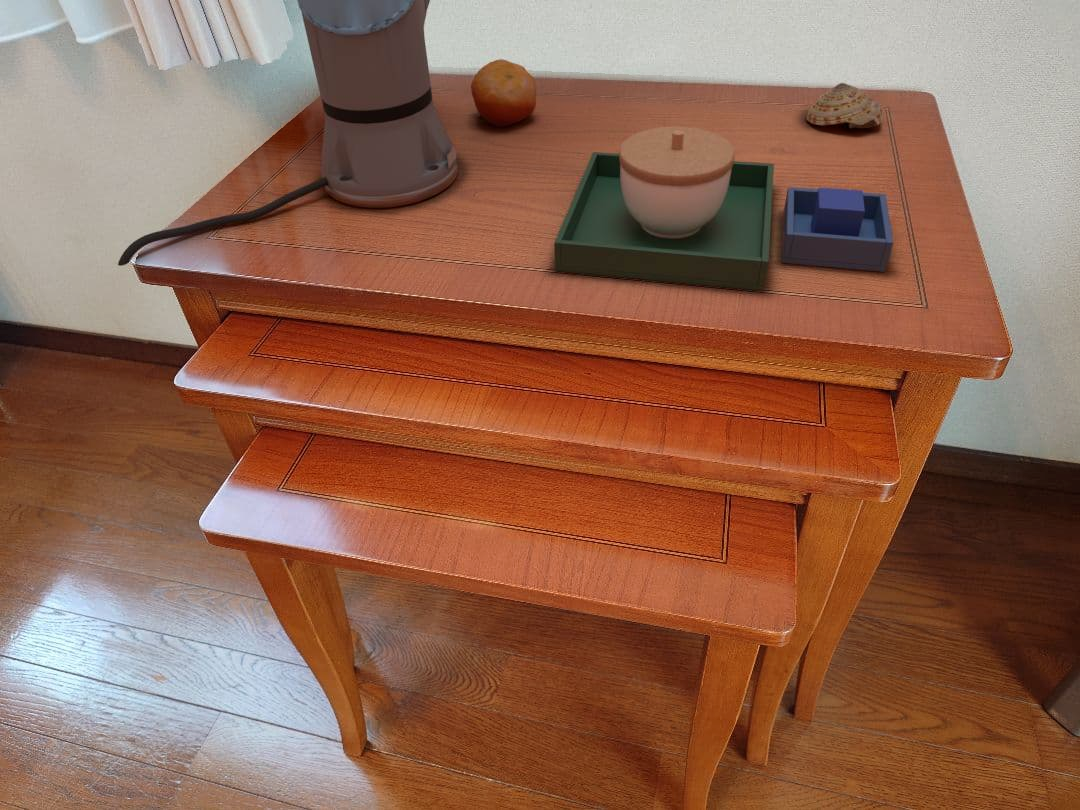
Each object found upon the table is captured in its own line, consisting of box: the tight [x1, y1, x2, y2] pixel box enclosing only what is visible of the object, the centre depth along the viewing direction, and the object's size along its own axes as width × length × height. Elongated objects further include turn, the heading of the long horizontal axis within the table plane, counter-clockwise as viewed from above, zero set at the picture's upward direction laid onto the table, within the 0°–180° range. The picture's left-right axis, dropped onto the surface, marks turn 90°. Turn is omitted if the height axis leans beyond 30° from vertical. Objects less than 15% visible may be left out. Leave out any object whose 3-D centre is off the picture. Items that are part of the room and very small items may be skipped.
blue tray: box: [781, 186, 894, 273], centre depth 76 cm, size 9×9×3 cm
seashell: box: [805, 82, 884, 129], centre depth 97 cm, size 8×6×8 cm
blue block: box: [811, 187, 865, 237], centre depth 76 cm, size 4×4×4 cm
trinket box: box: [618, 126, 736, 239], centre depth 77 cm, size 11×11×9 cm
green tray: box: [553, 151, 775, 292], centre depth 80 cm, size 19×19×3 cm
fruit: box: [470, 58, 537, 128], centre depth 100 cm, size 8×8×8 cm
